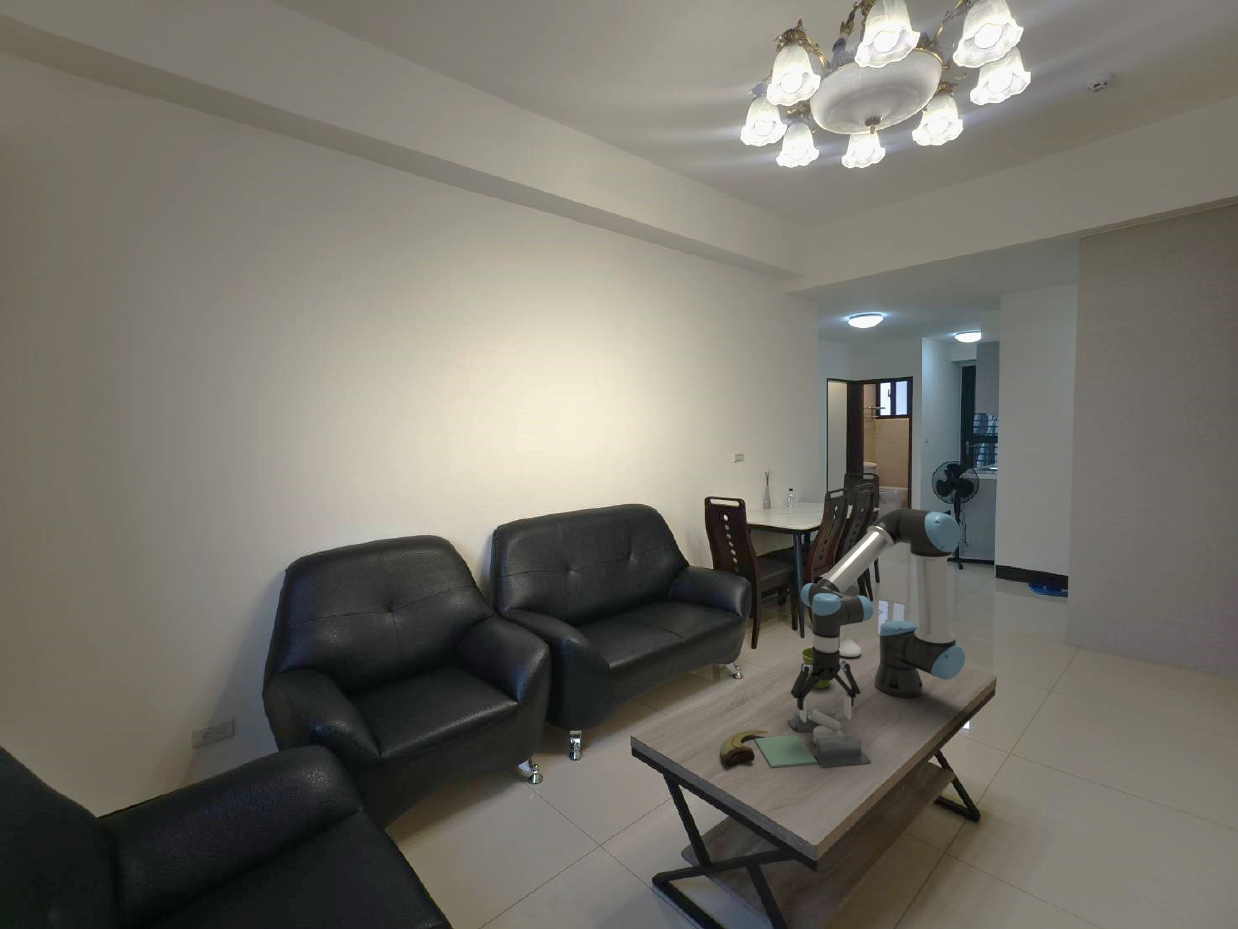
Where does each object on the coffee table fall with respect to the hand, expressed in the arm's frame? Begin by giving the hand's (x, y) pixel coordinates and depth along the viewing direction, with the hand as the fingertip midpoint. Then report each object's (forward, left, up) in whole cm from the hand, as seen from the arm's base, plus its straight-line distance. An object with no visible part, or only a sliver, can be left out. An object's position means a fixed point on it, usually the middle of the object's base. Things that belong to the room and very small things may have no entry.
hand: (825, 718), depth 158 cm
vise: (0, 0, -7) cm, 7 cm away
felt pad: (+14, +3, -7) cm, 16 cm away
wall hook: (0, 0, -7) cm, 7 cm away
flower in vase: (-36, -56, -7) cm, 67 cm away
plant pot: (-14, -34, -7) cm, 38 cm away
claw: (+25, 0, -7) cm, 26 cm away
